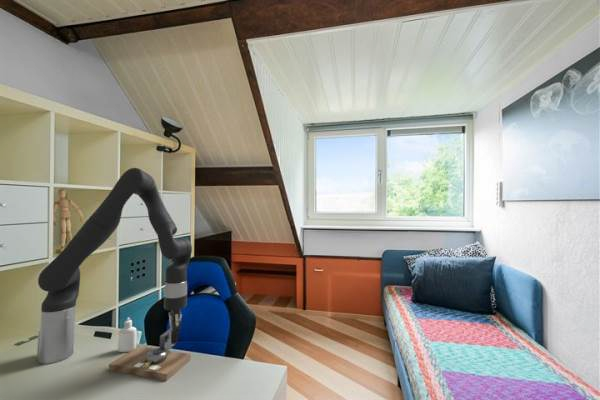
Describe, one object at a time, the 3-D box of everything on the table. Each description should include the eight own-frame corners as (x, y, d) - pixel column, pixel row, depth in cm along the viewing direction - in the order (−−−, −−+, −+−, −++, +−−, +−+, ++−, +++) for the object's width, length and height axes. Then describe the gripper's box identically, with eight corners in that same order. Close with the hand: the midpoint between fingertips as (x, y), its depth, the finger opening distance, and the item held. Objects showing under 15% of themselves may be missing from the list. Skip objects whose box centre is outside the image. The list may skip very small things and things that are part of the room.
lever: (136, 367, 85) (137, 348, 86) (164, 343, 101) (165, 327, 101) (155, 368, 85) (156, 349, 85) (180, 344, 100) (181, 328, 101)
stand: (108, 370, 88) (109, 363, 88) (138, 351, 99) (138, 345, 99) (166, 380, 83) (166, 372, 83) (190, 359, 94) (190, 353, 95)
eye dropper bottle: (127, 354, 97) (128, 321, 98) (116, 351, 99) (117, 318, 100) (137, 348, 101) (139, 316, 102) (127, 346, 103) (128, 314, 104)
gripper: (189, 297, 93) (188, 348, 93) (184, 288, 105) (183, 333, 104) (165, 300, 90) (164, 353, 89) (163, 290, 101) (161, 337, 100)
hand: (174, 342), depth 96 cm, fingers closed
